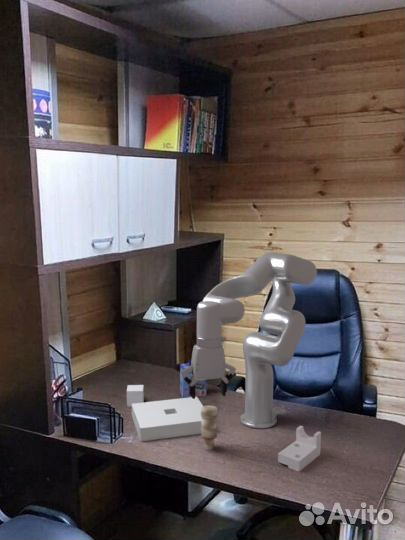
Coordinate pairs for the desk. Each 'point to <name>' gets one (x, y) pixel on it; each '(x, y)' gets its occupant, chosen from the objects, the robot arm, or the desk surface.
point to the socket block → (167, 418)
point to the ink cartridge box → (184, 386)
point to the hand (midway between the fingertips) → (208, 395)
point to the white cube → (135, 394)
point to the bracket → (301, 450)
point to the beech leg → (209, 425)
